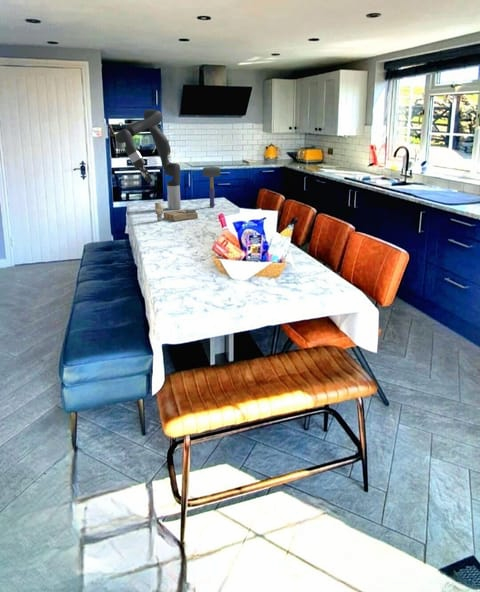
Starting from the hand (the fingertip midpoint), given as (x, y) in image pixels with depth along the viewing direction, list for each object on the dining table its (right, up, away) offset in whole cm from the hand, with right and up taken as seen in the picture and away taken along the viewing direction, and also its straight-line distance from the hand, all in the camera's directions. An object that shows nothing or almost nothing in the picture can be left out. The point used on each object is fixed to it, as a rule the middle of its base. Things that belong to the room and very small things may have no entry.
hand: (150, 182), depth 330 cm
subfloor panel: (+18, -21, +18) cm, 33 cm away
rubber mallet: (+37, -7, +56) cm, 67 cm away
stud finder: (+25, -17, +16) cm, 34 cm away
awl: (+4, -24, +9) cm, 26 cm away
